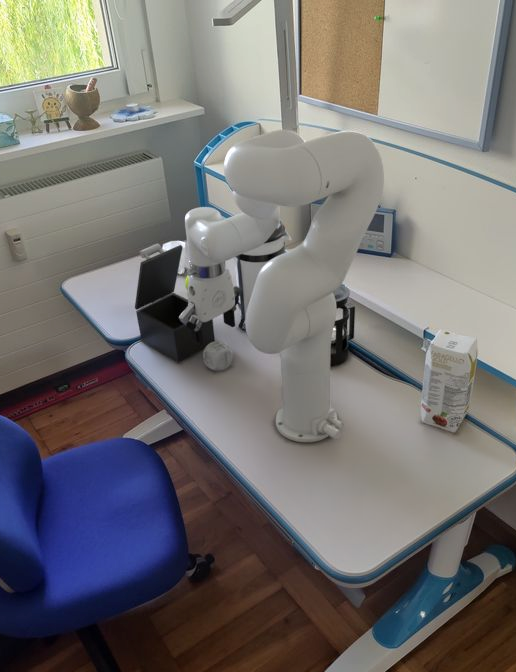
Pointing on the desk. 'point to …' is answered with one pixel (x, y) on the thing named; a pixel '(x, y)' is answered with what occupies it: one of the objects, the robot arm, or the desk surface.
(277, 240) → the coffee press
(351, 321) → the french press
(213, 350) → the die
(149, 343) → the hinged black storage box
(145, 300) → the lid
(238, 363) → the desk surface
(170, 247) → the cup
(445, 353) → the juice carton
